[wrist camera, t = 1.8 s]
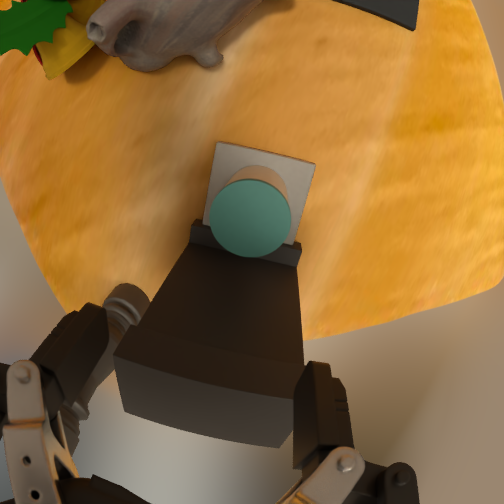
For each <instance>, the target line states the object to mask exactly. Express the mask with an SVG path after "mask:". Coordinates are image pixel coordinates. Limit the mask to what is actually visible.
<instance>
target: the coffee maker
mask: <svg viewBox="0 0 504 504" xmlns="http://www.w3.org/2000/svg"><path fill="white" fill-rule="evenodd" d="M252 165H260V166H265V167H268V168H270V169H272V170H274V171H275V172H276V173H278V174H279V175H280V177H281V178H282V179H283V181H284V183H285V185H286V188H287V195H288V204H289V207H290V212H291V227H290V231H289V234H288V236H287V238H286V239H285V241H284V242H283V243H282V245H281V246H280V247H278V248H277V249H276V250H274V251H273V252H271V253H269V254H267V255H264V256H260V257H243V256H239V255H236V254H234V253H232V252H230V251H228V250H227V249H225V248H224V247H223V246H222V245H221V244H220V243H219V242H218V241H217V240H216V238H215V237H214V235H213V233H212V230H211V227H210V222H209V213H210V208H211V205H212V202H213V200H214V199H215V197H216V196H217V194H218V193H219V192H220V191H221V190H222V189H223V188H224V187H225V186H226V184H227V183H228V182H229V180H230V179H231V178H232V176H233V175H234V174H235V173H236V172H237V171H239V170H240V169H242V168H245V167H247V166H252ZM315 167H316V165H315V164H314V163H312V162H308V161H304V160H301V159H297V158H293V157H289V156H285V155H281V154H277V153H273V152H268V151H264V150H260V149H255V148H251V147H246V146H241V145H236V144H231V143H226V142H221V141H219V142H217V144H216V149H215V154H214V160H213V165H212V170H211V176H210V181H209V187H208V193H207V199H206V205H205V211H204V217H203V220H199V219H196V220H195V221H194V223H193V224H192V225H191V232H190V239H189V243H188V245H187V246H186V248H185V249H184V251H183V252H182V254H181V256H180V257H179V259H178V260H177V262H176V263H175V265H174V266H173V268H172V270H171V271H170V273H169V274H168V276H167V277H166V279H165V281H164V282H163V284H162V285H161V287H160V289H159V290H158V292H157V293H156V295H155V297H154V298H153V300H152V302H151V303H150V305H149V307H148V308H147V310H146V312H145V313H144V315H143V317H142V318H141V320H140V322H139V323H138V325H137V326H136V325H133V324H131V325H130V326H129V328H128V330H127V331H126V333H125V334H124V336H123V338H122V339H121V341H120V343H119V344H118V346H117V348H116V350H115V351H114V353H113V355H112V356H113V361H114V367H115V372H116V377H117V382H118V386H119V391H120V395H121V399H122V404H123V408H124V411H125V412H127V413H129V414H132V415H135V416H138V417H141V418H144V419H147V420H150V421H154V422H156V423H159V424H163V425H166V426H169V427H173V428H177V429H180V430H184V431H188V432H192V433H196V434H200V435H204V436H209V437H213V438H218V439H223V440H228V441H233V442H240V443H245V444H251V445H258V446H265V447H273V448H280V446H281V445H282V444H283V442H284V441H285V440H286V439H287V437H288V436H289V435H290V433H291V432H292V430H293V395H294V390H295V386H296V384H297V382H298V380H299V378H300V376H301V375H302V373H303V371H304V369H305V367H306V366H305V365H304V353H303V338H302V324H301V311H300V299H299V287H298V276H297V265H298V262H299V259H300V256H301V253H302V248H301V243H297V242H294V240H295V236H296V233H297V230H298V226H299V223H300V220H301V216H302V213H303V209H304V206H305V203H306V199H307V196H308V192H309V189H310V185H311V182H312V178H313V174H314V171H315Z"/></svg>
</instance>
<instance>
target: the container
mask: <svg viewBox="0 0 504 504" xmlns="http://www.w3.org/2000/svg"><path fill="white" fill-rule="evenodd" d="M209 222H210V227H211V230H212V233H213V235H214V237H215V238H216V240H217V241H218V242H219V243H220V244H221V245H222V246H223V247H224V248H225V249H227V250H228V251H230V252H232V253H234V254H236V255H239V256H243V257H260V256H264V255H267V254H269V253H271V252H273V251H274V250H276V249H277V248H278V247H280V246H281V245H282V243H283V242H284V241H285V239H286V238H287V236H288V234H289V231H290V227H291V212H290V207H289V204H288V195H287V188H286V185H285V183H284V181H283V179H282V178H281V177H280V175H279V174H278V173H276V172H275V171H274V170H272V169H270V168H268V167H265V166H260V165H252V166H247V167H245V168H242V169H240V170H239V171H237V172H236V173H235V174H234V175H233V176H232V178H231V179H230V180H229V182H228V183H227V184H226V186H225V187H224V188H223V189H222V190H221V191H220V192H219V193H218V194H217V196H216V197H215V199H214V200H213V202H212V205H211V208H210V213H209Z"/></svg>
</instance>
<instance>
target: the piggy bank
mask: <svg viewBox="0 0 504 504" xmlns="http://www.w3.org/2000/svg"><path fill="white" fill-rule="evenodd" d="M262 1H263V0H107V1H106V2H105V3H104V4H103V5H101V6H100V7H99V8H98V9H97V10H96V11H95V12H94V13H93V14H92V16H91V17H90V18H89V20H88V23H87V25H86V31H87V34H88V36H87V38H88V39H89V40H92V41H93V42H94V43H95V44H96V45H97V46H98V47H99V48H100V49H101V50H102V51H104V52H105V53H106V54H107V55H110V56H113V57H119V58H120V59H121V60H122V61H123V63H124V64H126V65H127V66H128V67H130V68H131V69H133V70H138V71H143V72H149V71H153V70H157V69H160V68H163V67H164V66H166V65H167V64H169V63H170V62H171V61H172V60H173V59H174V58H175V57H178V56H181V55H190V56H193V57H194V58H195V59H196V61H197V62H198V63H199V64H200V65H201V66H204V67H209V68H210V67H215V66H216V65H218V64H219V63H220V62H221V61H222V60H223V58H224V57H223V55H222V54H220V53H219V52H218V49H217V47H216V43H217V41H218V39H219V38H220V37H221V36H223V35H224V34H225V33H227V32H228V31H229V30H231V29H232V28H233V27H234V26H236V25H237V24H238V23H239V22H240V21H242V20H243V19H244V17H246V16H247V14H249V13H250V12H251V11H252V10H253V9H254V8H255V7H256V6H257V5H259V4H260V3H261V2H262Z"/></svg>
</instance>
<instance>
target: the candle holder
mask: <svg viewBox="0 0 504 504" xmlns="http://www.w3.org/2000/svg"><path fill="white" fill-rule="evenodd" d="M149 305H150V301H149V299H148V297H147V296H146V295H145V293H144V292H143V291H142V290H141V289H139V288H137V287H136V286H134V285H131V284H127V283H126V284H120V285H118V286H117V287H115V288H114V290H113V291H112V292H111V293H110V295H109V296H108V297H107V298H106V300H105V301H104V304H103V308H105V309H106V312H107V320H108V328H109V343H108V346H107V348H106V350H105V352H104V354H103V355H102V357H101V358H100V360H99V362H98V363H97V365H96V367H95V368H94V370H93V372H92V373H91V375H90V377H89V378H88V380H87V382H86V383H85V385H84V387H83V389H82V390H81V392H80V394H79V396H78V397H77V399H76V401H75V403H74V404H73V406H72V408H70V407H68V406H66V405H64V404H62V406H61V407H60V409H59V411H60V415H61V420H62V425H63V430H64V434H65V438H66V442H67V446H68V450H69V453H70V456H71V457H72V455H73V453H74V450H75V449H76V446H77V444H78V442H79V439H78V436H79V434H80V431H79V420H87V419H88V416H89V410H88V403H89V401H90V399H91V397H92V395H93V393H94V391H95V390H96V388H97V387H98V385H100V384H101V383H102V381H104V379H105V378H106V377H107V376H109V375H110V373H111V372H112V371H113V370H114V369H115V367H114V361H113V356H112V355H113V353H114V351H115V350H116V348H117V346H118V344H119V343H120V341H121V339H122V338H123V336H124V334H125V333H126V331H127V330H128V328H129V326H130V325H131V324H133V325H136V326H137V325H138V323H139V322H140V320H141V318H142V317H143V315H144V313H145V312H146V310H147V308H148V307H149Z"/></svg>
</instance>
